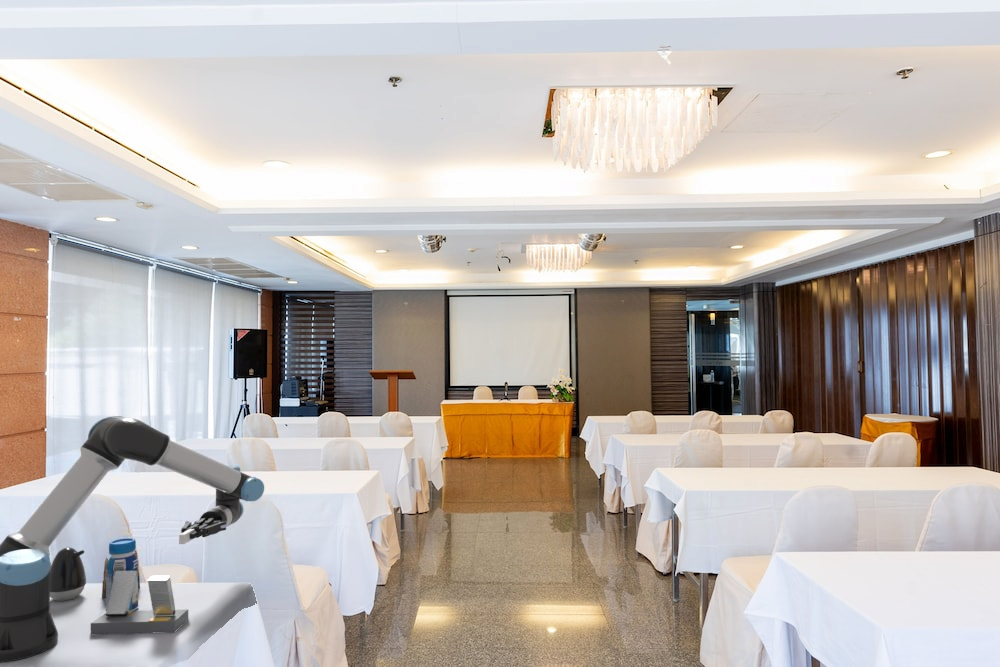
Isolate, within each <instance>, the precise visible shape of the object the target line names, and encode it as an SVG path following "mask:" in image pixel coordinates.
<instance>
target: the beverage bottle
mask: <svg viewBox="0 0 1000 667" xmlns="http://www.w3.org/2000/svg"><path fill="white" fill-rule="evenodd" d="M136 543H137V541H136V538H133V537H132V538H131V537H126V538H117V539H113V540H111V541H110V542H109V543H108V554H109V556H110V557H109V559H108V562H107V565H106V569H107V573H106V576H105V579H106V599H105V612H106V611H107V607H108V602H109V598H110V593H111V589H112V585H113V580H114V576H115V572H116V571H137V574H136V578H135V583H134V588H133V592H132V597H131V602H130V606H129V610H133V611H137V609H138V608H139V589H138V575H139V576H140V569H139V563H140V562H139V558H138V559H137V557H136V555H135V554H134V552H135V550H136V548H137V547H136V545H137V544H136ZM137 565H138V567H137Z"/></svg>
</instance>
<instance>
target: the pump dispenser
mask: <svg viewBox="0 0 1000 667" xmlns="http://www.w3.org/2000/svg"><path fill="white" fill-rule="evenodd" d="M84 554H85V550H83V549H82V550H79V551H77V550H76V549H75V548H74V547H65V548H62V549H61V550H59V551H58V552H57V553H56V555H55V557H54V558H53V560H52V562H51V569H50V599H52V600H54V601H57V602H65V601H71V600H73V599H75V598H77V597H78V596H79V595H81V594H82V592H83V591H84V589H85V587H86V586H85V585H86V584H87V575H86V571H85V566H84V563H83V561H82V558H81V555H84Z"/></svg>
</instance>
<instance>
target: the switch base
mask: <svg viewBox="0 0 1000 667" xmlns="http://www.w3.org/2000/svg"><path fill="white" fill-rule="evenodd" d="M187 620H188V621H189V609H187V608H186V609H175V615H163V616H154V614H153V609H152V610H149V609H148V610H147V609H146V610H134V611H133V610H129V611H128V614H127V616H106V612H105V613H104V614H102V615H100V616H99V617H98V618H96V619H95V620H93V621H92V622H90V635H91V636H93V635H92V634H100V635H129V634H130V635H131V634H132V635H134V634H135V633H139V634H154V633H153V632H175V631H176V630H177V629H178V628H179V627H180V626H181V625H183V624H184V623H185V622H186V621H187ZM188 621H187V622H188ZM187 622H186V623H187ZM186 623H185V624H186ZM185 624H184V625H185ZM184 625H183V626H184ZM180 628H181V627H180ZM180 628H179V629H180ZM179 629H178V630H179ZM178 630H177V631H178ZM177 631H176V632H177ZM176 632H175V633H176Z"/></svg>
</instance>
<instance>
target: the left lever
mask: <svg viewBox="0 0 1000 667" xmlns="http://www.w3.org/2000/svg"><path fill="white" fill-rule="evenodd" d="M136 574H137V571H116V572H115V576H114V580H113V585H112V589H111V593H110V598H109V602H108V607H107V611H106V610H105V613H106V616H127V614H128V611H129V606H130V602H131V597H132V592H133V588H134V583H135V578H136Z"/></svg>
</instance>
